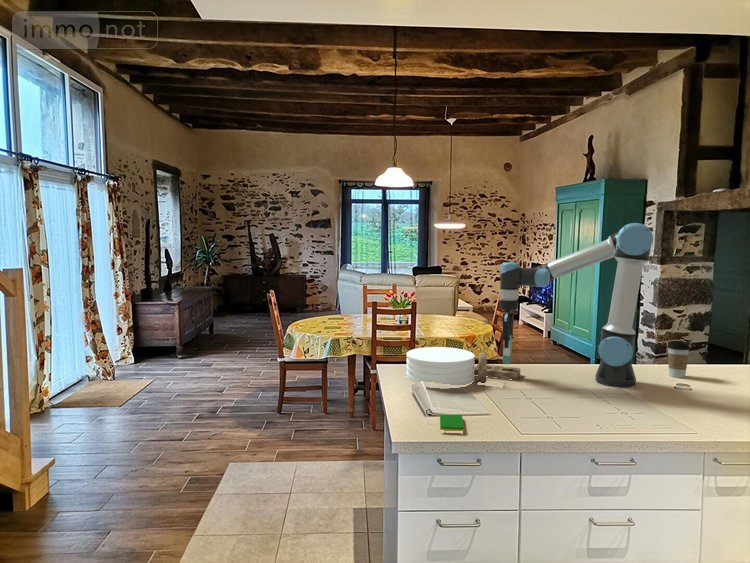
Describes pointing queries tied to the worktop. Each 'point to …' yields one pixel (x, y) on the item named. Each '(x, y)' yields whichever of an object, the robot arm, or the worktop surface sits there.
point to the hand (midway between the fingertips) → (507, 354)
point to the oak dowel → (482, 367)
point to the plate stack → (440, 365)
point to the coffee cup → (677, 358)
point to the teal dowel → (507, 358)
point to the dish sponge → (451, 423)
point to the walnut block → (500, 372)
